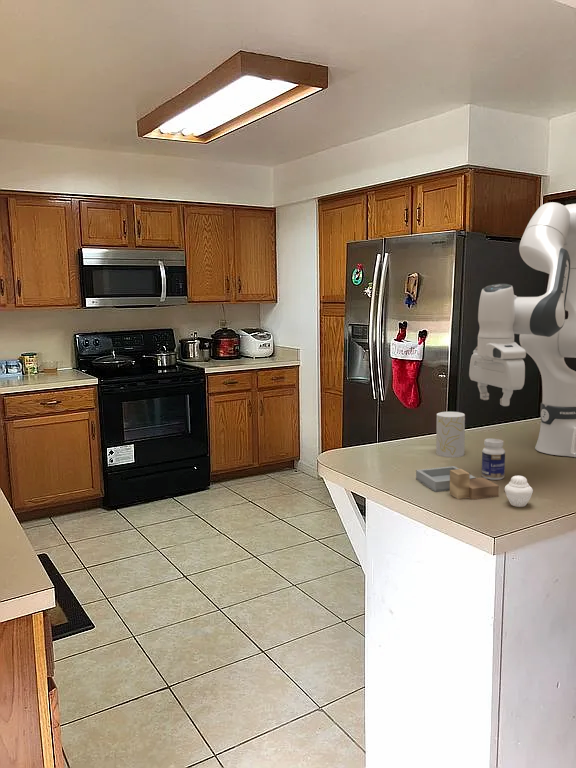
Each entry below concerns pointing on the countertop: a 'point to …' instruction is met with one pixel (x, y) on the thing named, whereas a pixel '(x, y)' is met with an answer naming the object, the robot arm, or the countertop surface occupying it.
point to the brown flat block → (482, 489)
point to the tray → (436, 478)
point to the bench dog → (459, 483)
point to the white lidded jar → (518, 491)
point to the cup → (450, 434)
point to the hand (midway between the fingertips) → (494, 402)
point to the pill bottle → (493, 459)
